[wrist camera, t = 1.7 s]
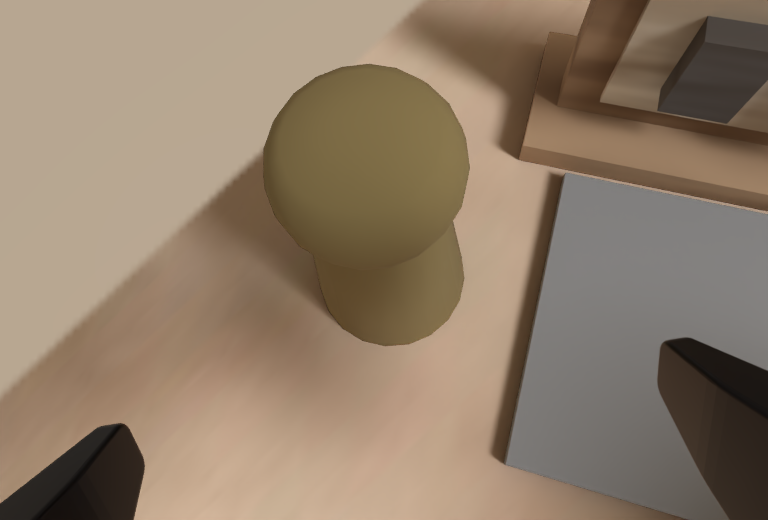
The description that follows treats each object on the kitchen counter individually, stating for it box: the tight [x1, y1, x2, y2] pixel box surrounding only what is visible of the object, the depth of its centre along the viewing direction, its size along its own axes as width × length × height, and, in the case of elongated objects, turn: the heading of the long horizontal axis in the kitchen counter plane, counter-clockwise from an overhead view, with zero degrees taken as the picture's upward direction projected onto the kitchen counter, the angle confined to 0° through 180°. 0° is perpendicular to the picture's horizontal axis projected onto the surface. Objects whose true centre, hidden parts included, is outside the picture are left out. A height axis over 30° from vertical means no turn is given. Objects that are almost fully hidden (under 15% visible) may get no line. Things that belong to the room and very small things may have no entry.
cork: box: [263, 64, 470, 346], centre depth 17 cm, size 6×6×11 cm
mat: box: [504, 173, 768, 520], centre depth 20 cm, size 12×12×1 cm
